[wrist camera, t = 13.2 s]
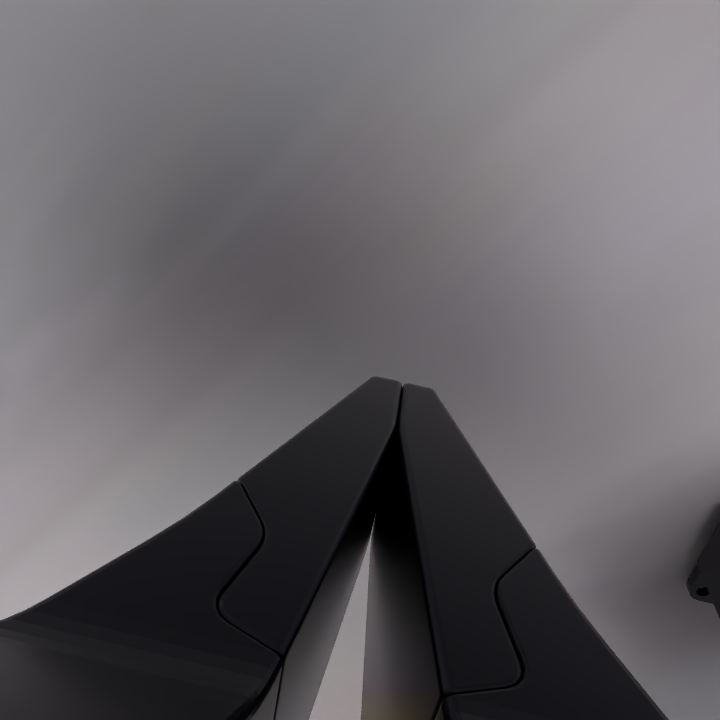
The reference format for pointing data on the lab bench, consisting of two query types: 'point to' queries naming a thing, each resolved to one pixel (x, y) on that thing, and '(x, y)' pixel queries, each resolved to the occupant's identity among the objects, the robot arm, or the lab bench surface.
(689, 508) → the lab bench surface
